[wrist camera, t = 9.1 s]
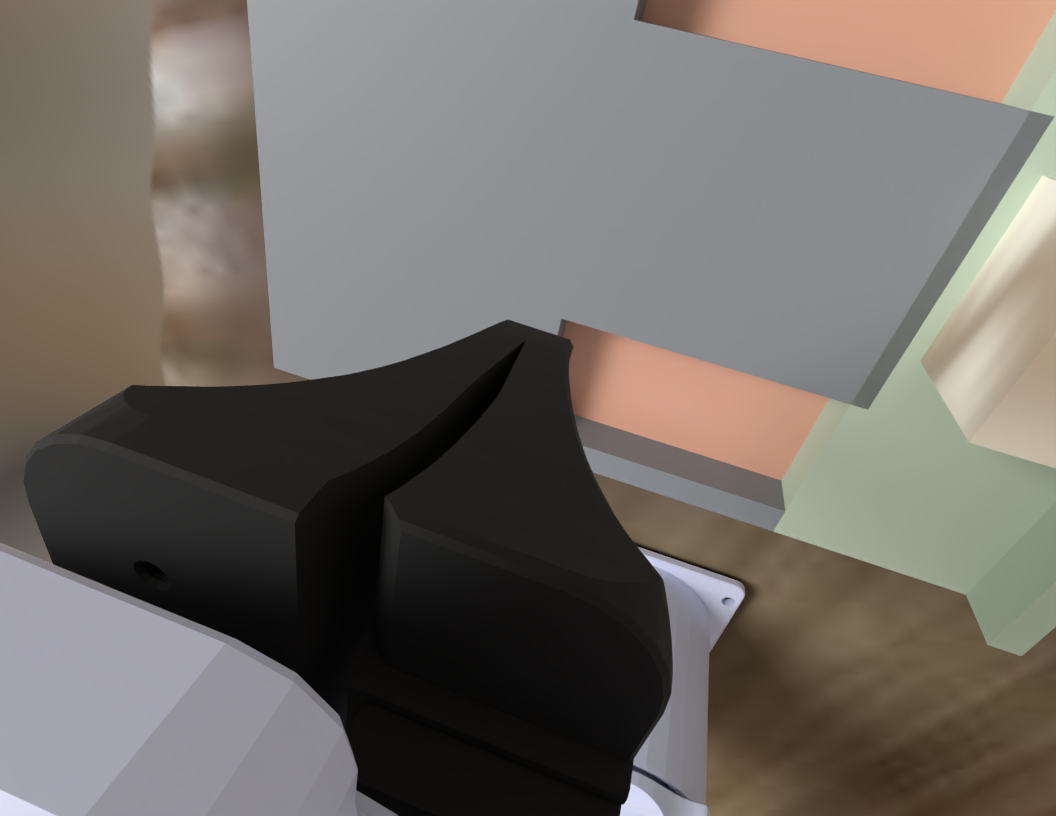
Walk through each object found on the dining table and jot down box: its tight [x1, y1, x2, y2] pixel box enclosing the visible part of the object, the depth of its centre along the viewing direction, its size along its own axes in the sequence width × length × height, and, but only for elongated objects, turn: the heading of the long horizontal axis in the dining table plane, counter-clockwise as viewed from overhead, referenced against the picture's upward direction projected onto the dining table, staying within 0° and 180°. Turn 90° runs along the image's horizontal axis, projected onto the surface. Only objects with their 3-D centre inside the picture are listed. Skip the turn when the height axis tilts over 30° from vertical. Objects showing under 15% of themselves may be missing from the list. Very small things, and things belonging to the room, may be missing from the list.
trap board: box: [247, 0, 1056, 656], centre depth 16 cm, size 19×27×4 cm
